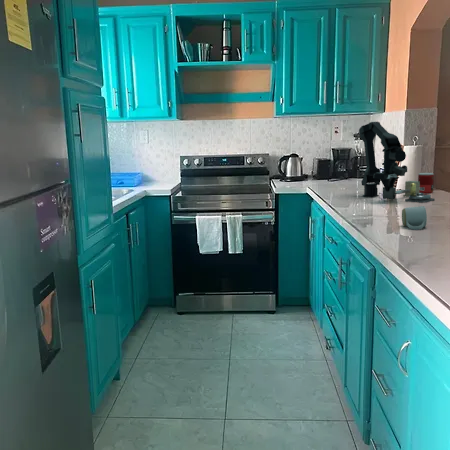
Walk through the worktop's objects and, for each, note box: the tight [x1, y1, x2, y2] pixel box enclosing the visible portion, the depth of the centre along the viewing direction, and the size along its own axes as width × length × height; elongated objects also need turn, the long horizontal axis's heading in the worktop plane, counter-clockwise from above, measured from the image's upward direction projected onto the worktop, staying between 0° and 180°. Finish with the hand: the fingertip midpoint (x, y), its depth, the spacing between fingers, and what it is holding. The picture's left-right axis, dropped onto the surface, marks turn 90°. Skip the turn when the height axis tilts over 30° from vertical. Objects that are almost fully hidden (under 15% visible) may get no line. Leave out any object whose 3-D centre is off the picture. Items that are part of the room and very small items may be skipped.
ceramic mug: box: [401, 205, 428, 231], centre depth 173 cm, size 11×8×8 cm
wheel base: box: [404, 197, 435, 204], centre depth 234 cm, size 10×10×1 cm
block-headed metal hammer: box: [382, 186, 410, 201], centre depth 242 cm, size 6×18×6 cm, turn 125°
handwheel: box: [408, 183, 432, 200], centre depth 233 cm, size 10×10×8 cm
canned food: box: [417, 172, 435, 195], centre depth 260 cm, size 8×8×11 cm
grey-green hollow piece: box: [402, 180, 420, 198], centre depth 249 cm, size 7×6×8 cm
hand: (389, 191), depth 238 cm, fingers closed on block-headed metal hammer, 2 cm apart
